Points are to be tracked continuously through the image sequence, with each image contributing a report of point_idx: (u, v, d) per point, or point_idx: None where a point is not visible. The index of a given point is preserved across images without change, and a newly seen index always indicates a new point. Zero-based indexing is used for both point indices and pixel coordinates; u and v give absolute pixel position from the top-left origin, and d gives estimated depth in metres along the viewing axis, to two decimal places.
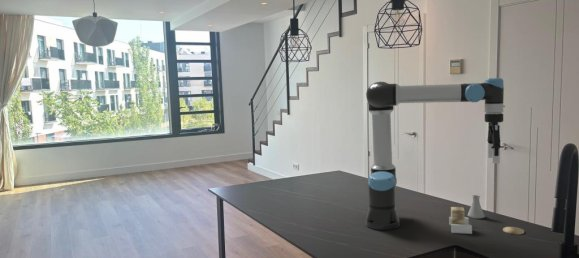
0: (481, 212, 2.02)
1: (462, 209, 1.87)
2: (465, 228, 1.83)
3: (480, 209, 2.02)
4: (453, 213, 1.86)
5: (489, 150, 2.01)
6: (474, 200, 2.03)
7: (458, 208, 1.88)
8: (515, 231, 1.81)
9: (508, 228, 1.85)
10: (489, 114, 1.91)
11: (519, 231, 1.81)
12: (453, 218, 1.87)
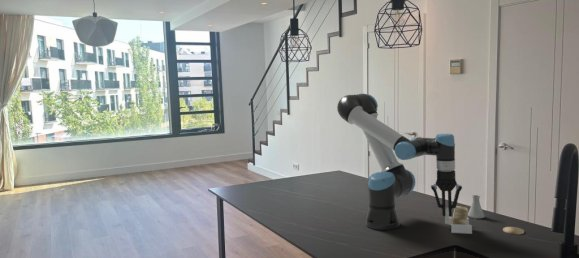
0: (481, 212, 2.02)
1: (466, 209, 1.86)
2: (465, 228, 1.83)
3: (480, 209, 2.02)
4: (456, 212, 1.86)
5: None
6: (474, 200, 2.03)
7: (462, 208, 1.88)
8: (515, 231, 1.81)
9: (508, 228, 1.85)
10: None
11: (519, 231, 1.81)
12: (455, 217, 1.86)
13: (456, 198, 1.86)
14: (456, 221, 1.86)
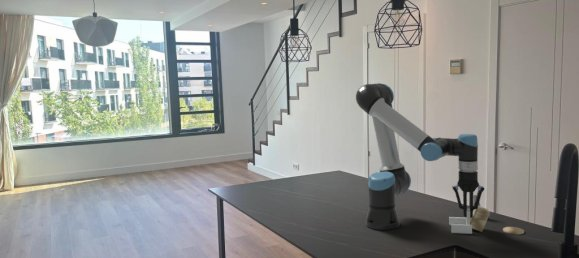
0: None
1: (487, 211, 1.84)
2: (465, 228, 1.83)
3: None
4: (478, 211, 1.84)
5: None
6: (474, 200, 2.03)
7: (483, 208, 1.86)
8: (515, 231, 1.81)
9: (508, 228, 1.85)
10: None
11: (519, 231, 1.81)
12: (476, 216, 1.84)
13: (478, 199, 1.84)
14: (475, 221, 1.84)
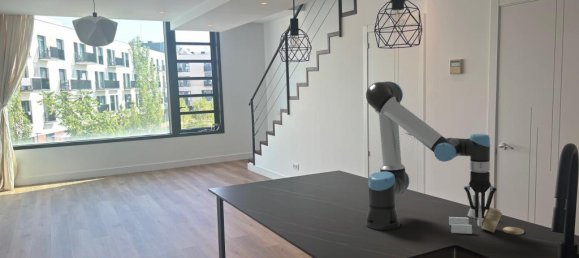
0: None
1: (499, 211, 1.83)
2: (465, 228, 1.83)
3: (480, 209, 2.02)
4: (490, 212, 1.82)
5: None
6: (474, 200, 2.03)
7: (495, 209, 1.84)
8: (515, 231, 1.81)
9: (508, 228, 1.85)
10: None
11: (519, 231, 1.81)
12: (488, 217, 1.83)
13: (490, 200, 1.83)
14: (487, 221, 1.83)
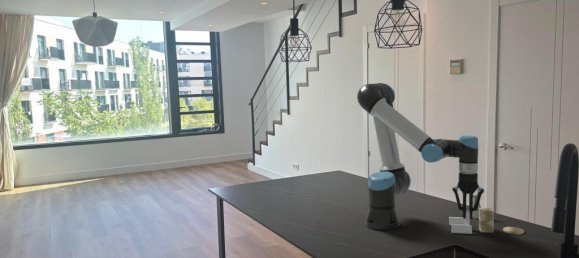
0: None
1: (491, 210, 1.84)
2: (465, 228, 1.83)
3: None
4: (482, 214, 1.83)
5: None
6: (474, 200, 2.03)
7: (487, 209, 1.85)
8: (515, 231, 1.81)
9: (508, 228, 1.85)
10: None
11: (519, 231, 1.81)
12: (482, 219, 1.83)
13: (478, 201, 1.85)
14: (483, 224, 1.83)
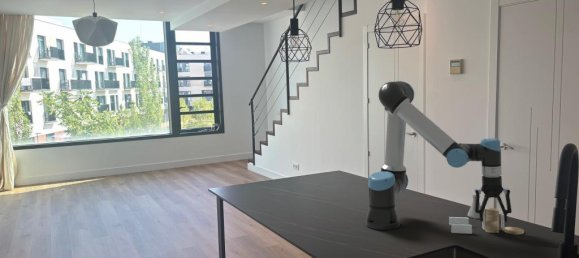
0: None
1: (496, 210, 1.83)
2: (465, 228, 1.83)
3: None
4: (487, 214, 1.83)
5: (501, 220, 1.85)
6: (474, 200, 2.03)
7: (492, 209, 1.85)
8: (515, 231, 1.81)
9: (508, 228, 1.85)
10: None
11: (519, 231, 1.81)
12: (487, 219, 1.83)
13: (508, 203, 1.81)
14: (488, 224, 1.83)
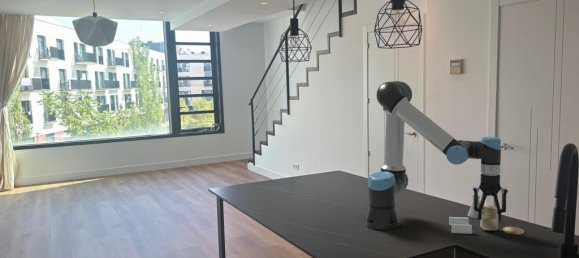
0: None
1: (494, 208, 1.83)
2: (465, 228, 1.83)
3: None
4: (485, 212, 1.83)
5: None
6: None
7: (490, 207, 1.85)
8: (515, 231, 1.81)
9: (508, 228, 1.85)
10: None
11: (519, 231, 1.81)
12: (485, 217, 1.83)
13: (504, 202, 1.82)
14: (486, 221, 1.83)
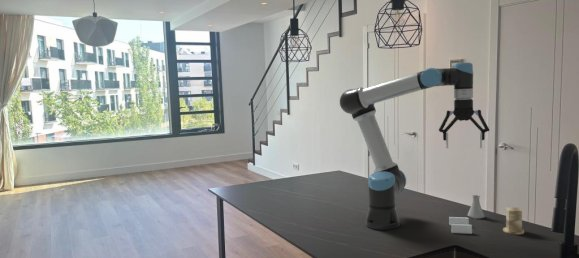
0: (481, 212, 2.02)
1: (519, 209, 1.81)
2: (465, 228, 1.83)
3: (480, 209, 2.02)
4: (510, 214, 1.80)
5: (479, 139, 1.88)
6: (474, 200, 2.03)
7: (514, 208, 1.82)
8: None
9: None
10: None
11: None
12: (510, 219, 1.81)
13: (483, 122, 1.85)
14: (511, 223, 1.81)
